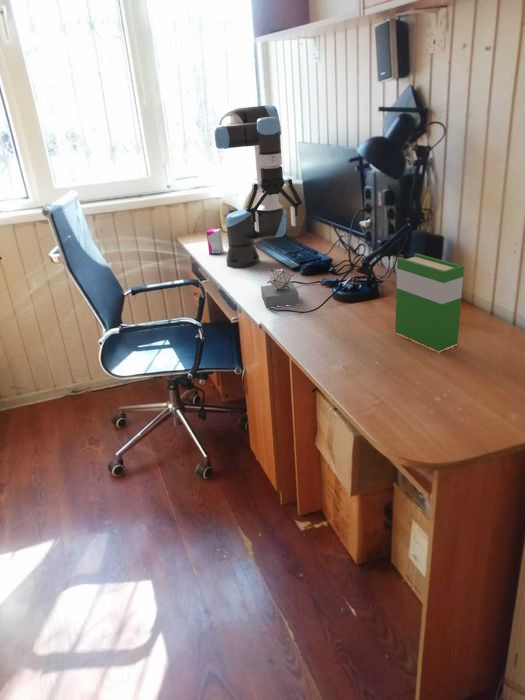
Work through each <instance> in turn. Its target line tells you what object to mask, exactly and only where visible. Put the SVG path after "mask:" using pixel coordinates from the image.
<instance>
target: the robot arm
mask: <svg viewBox="0 0 525 700" xmlns="http://www.w3.org/2000/svg"><path fill="white" fill-rule="evenodd" d="M213 133H214V142H215V147H216V148H217V149H219V150H221V149H224V150H226V149H227V150H228V149H232V148H233V149H234V148H242V147H254V154H255V170H256V180H257V183H256V182H253V183H252V186H251V187H252V188H251V192H250V195H249V197H248V199H247V200H248V201H247V203H246V206H245V208H244V209H238V210H236V211H233V212H230V213H228V214H227V215H226V217H225V226H226V231H227V232H226V233H227V242H228V243H227V245H228V250H227V255H226V259H225V260H226V261H225V262H226V265H227V266H228V267H230V268H236V269H237V268H248V267H254V266H256V265H258V264H259V263H260V255H259V253H258V251H257V248H256V245H255V240H259V239H260V240H262V239H272V238H273V239H275V238H280V237H283V236H284V235H285V234H286V228H287V210H286V209H283V204H281V203H280V200H279V194H281V195H282V197H284V198H285V199H286V200H287V202H289V204H290V205H291V206H289V207H290V208H289V209H290V210H289V211H290V225H291V226H292V227H296V226H297V225H296V217H298V208H299V206H301V205H302V204H303V201H302V199H301V198H300V196H299V194H298V192H297V191H296V189H295V187H294V184H293V183H294V182H293V179H291V178H288V177H287V178H286V179H284V174H283V170H284V169H283V166H282V164H283V159H282V144H281V143H282V142H281V141H282V140H281V139H282V138H281V135H282V129H281V122H280V117H279V112H278V108H277V106H274V105H265V104H264V105H259V106H248V107H247V106H246V107H239V108H234V109H232V110H229V111H228V112H226V113H225V114H223V116H222V117H221V118H220V120H219V123H218V125H217V126H214V131H213ZM285 185H286V186H287V188H288V189H289V191H290V192H291V195H292V196H293V198H294V200H295V201H294V200H293V198H292V197H291V196H290V195H289V194H288V193H287V192H286V190H284V189H283V187H284V186H285ZM257 193H258V197H257V198H256V196H257ZM255 199H256V201H255Z"/></svg>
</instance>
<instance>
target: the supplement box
mask: <svg viewBox="0 0 525 700" xmlns="http://www.w3.org/2000/svg"><path fill="white" fill-rule="evenodd" d="M206 239H207V246H208V253H209V255H221V254H222V253H223V252H224V246H223V238H222V228H209V229H208V230H206ZM222 251H223V252H222ZM221 252H222V253H221ZM218 253H219V254H218ZM220 253H221V254H220Z"/></svg>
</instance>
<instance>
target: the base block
mask: <svg viewBox="0 0 525 700" xmlns="http://www.w3.org/2000/svg"><path fill="white" fill-rule="evenodd" d="M288 287H289V288H288ZM288 287H286V288H282V289H279V290H278V292H277V289H276V288H275V287H274V286H273V285H272V284H270V285H263V286H260V291H261V299H262V300H263V301H264V302H263V304H264V306H266V307H265V309H266V308H269V309H271V308H270V307H277V306H285V307H287V306H286V305H293V306H298V305H297V304H299V305H300V296H299V292H298V290H297V288H296V286H295V284H294V283H293V282H289V285H288ZM277 308H278V307H277Z"/></svg>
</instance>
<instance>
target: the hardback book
mask: <svg viewBox="0 0 525 700" xmlns="http://www.w3.org/2000/svg"><path fill="white" fill-rule="evenodd" d="M396 265H397V266H396V295H395V296H396V297H395V298H396V299H395V331H394V333H395V332H396V333H399V334H402V335H404V336H406V337H408V338H411V339H413V340H415V341H417V342H419V343H421V344H424V345H426V346H428V347H431V348H433V349H435V350H437V351H440V350H443V349H445V348H447V347H450V346H452V345H455V344H457V343H458V341H459V333H460V332H459V331H460V330H459V329H460V320H461V319H460V318H461V308H462V306H461V305H462V295H463V294H462V292H463V285H464V283H463V282H464V271H465V266H464V265H462V264H461V265H460V264H458V263H453V262H451V261H446V260H442V259H439V258H435V257H432V256H431V257H430V256H427V255H425V254H421V253H413V257H409V258H405V259H404V258H402V257H398V258H397V263H396ZM458 344H459V343H458ZM458 344H457V345H458Z"/></svg>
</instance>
